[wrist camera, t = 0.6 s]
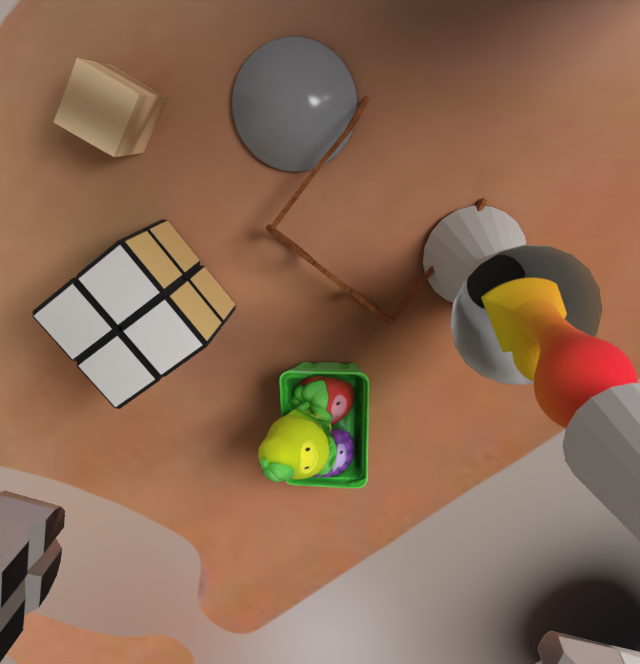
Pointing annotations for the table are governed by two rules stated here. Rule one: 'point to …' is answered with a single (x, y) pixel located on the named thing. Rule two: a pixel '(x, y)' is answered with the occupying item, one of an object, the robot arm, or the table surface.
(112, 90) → the oak block
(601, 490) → the lava lamp
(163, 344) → the puzzle cube
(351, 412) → the fruit basket
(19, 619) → the robot arm
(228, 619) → the table surface
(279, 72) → the slate coaster
